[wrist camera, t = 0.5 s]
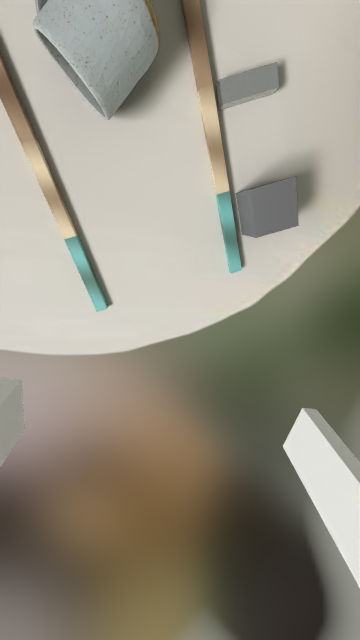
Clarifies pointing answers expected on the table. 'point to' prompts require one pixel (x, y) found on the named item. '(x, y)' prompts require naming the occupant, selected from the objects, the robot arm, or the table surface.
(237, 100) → the bar
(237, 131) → the table surface
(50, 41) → the ceramic mug
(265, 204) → the block
